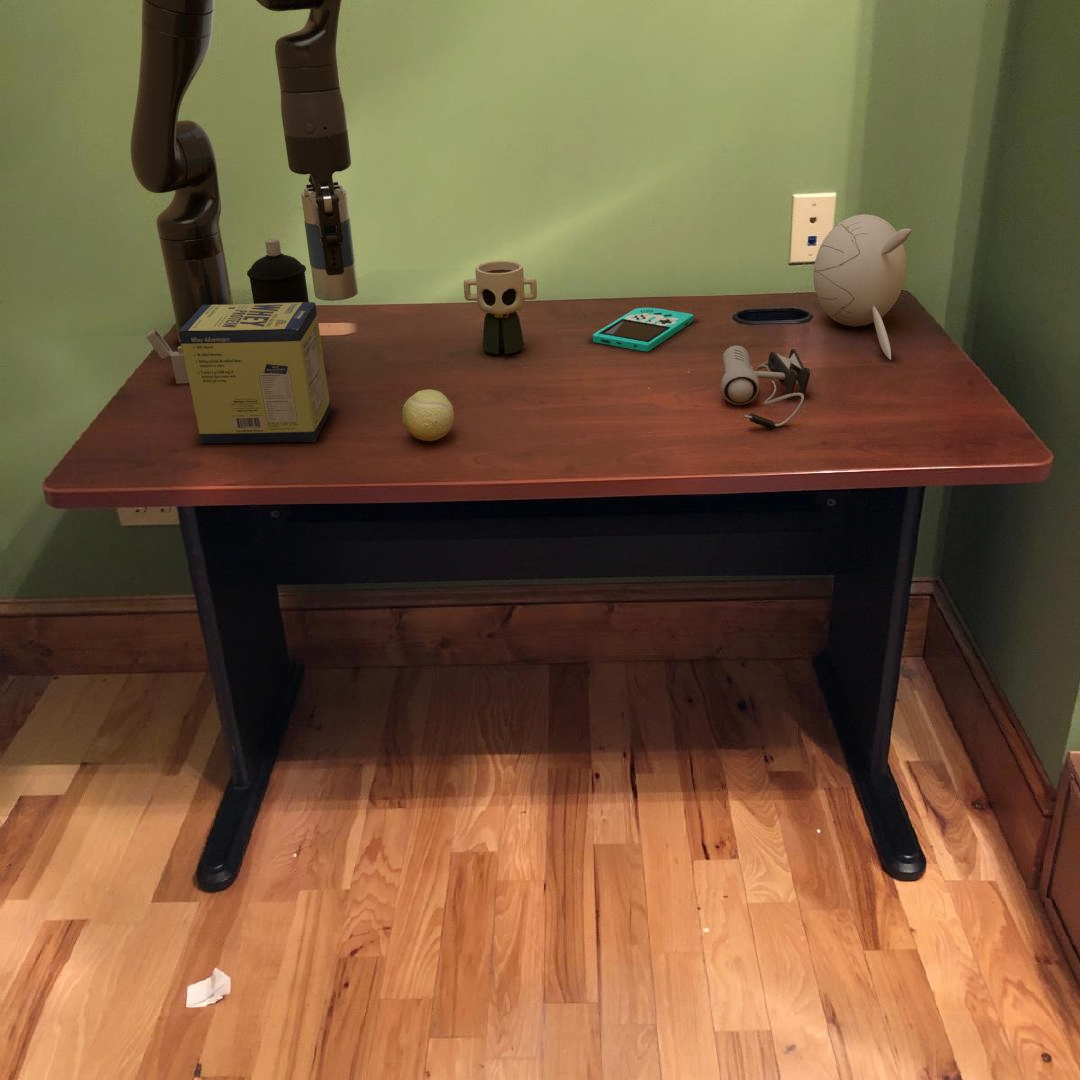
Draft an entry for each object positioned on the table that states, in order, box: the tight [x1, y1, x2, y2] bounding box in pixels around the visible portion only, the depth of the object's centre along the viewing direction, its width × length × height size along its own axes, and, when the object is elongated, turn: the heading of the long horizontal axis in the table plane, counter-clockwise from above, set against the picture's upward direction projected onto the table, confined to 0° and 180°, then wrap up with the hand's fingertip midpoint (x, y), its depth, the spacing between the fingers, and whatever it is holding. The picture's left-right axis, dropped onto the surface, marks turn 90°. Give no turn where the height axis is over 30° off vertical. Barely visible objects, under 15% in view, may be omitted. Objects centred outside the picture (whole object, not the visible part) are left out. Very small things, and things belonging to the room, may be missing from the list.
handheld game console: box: [592, 307, 694, 353], centre depth 180 cm, size 10×16×1 cm, turn 148°
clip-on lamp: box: [720, 345, 811, 430], centre depth 152 cm, size 12×6×18 cm
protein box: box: [177, 301, 332, 445], centre depth 149 cm, size 10×16×16 cm
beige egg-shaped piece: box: [813, 214, 913, 361], centre depth 173 cm, size 19×14×25 cm
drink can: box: [300, 183, 359, 302], centre depth 143 cm, size 6×6×13 cm
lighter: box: [145, 328, 189, 385], centre depth 166 cm, size 7×2×8 cm, turn 94°
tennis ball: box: [401, 389, 455, 442], centre depth 146 cm, size 6×7×7 cm
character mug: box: [463, 259, 538, 355], centre depth 172 cm, size 11×7×13 cm, turn 87°
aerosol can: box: [246, 238, 310, 304], centre depth 164 cm, size 8×8×20 cm
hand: (333, 267), depth 145 cm, fingers closed on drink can, 5 cm apart
